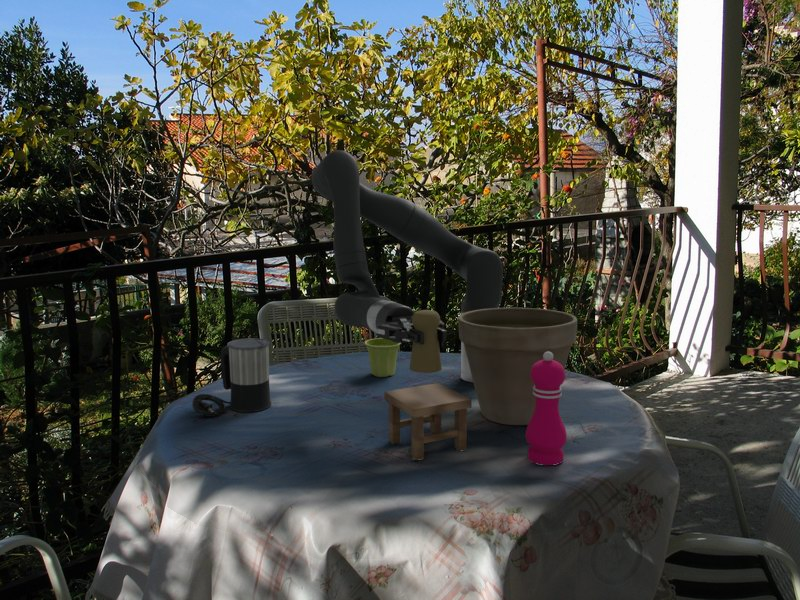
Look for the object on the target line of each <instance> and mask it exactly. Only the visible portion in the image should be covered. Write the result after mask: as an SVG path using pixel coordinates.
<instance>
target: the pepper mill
mask: <svg viewBox="0 0 800 600" xmlns="http://www.w3.org/2000/svg"><path fill="white" fill-rule="evenodd" d="M543 358H544V360H540V361H538V362H536V363H535V364H534V365H533V366H532V369H531V374H530V375H531V379H532V381H533V382H534V384H535V386H533V389H534V391H533V395H535V399H536V403H535V410H534V413H533V416H532V418H531V420H530V422H529V424H528V425H526V431H525V440H526V443H527V444H529V447H528V448H527V459H528V461H529V460H530V461H532V462H534V463H538V464H543V465H553V464H557V463H560V462H562V461H563V462H564V450H563V449H562V448H563V447H564V446H565V445H566V443H567V441H568V439H567V436H568V435H567V430H566V427H565V424H564V422H563V419H562V417H561V415H560V411H559V410H560V409H559V402H560V398H561V396H562V395H563V393H562V391H563V388H562V384H564V382H565V379H566V372H565V371H566V370H565V369H564V368H563V366H562V365H561V364H560V363H558V362H557V361H554V360H552V359H553V354H552V353H551V352H549V351H548V352H545V353H544V355H543ZM530 461H529V462H530ZM532 462H531V463H532ZM563 462H562V463H563ZM534 463H533V464H534Z"/></svg>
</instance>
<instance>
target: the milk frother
mask: <svg viewBox="0 0 800 600" xmlns="http://www.w3.org/2000/svg"><path fill="white" fill-rule="evenodd" d="M269 345H270V341H269V340H267V339H264V338H256V337H255V338H251V337H250V338H249V337H248V338H239V339H233V340H231V341H229V342H227V345H225V346H223V348H222V349H221V350H220V366H221V374H222V375H221V376H222V386H223V389H225V390H228V391H229V390H230V401H227V400H224V399H221V397H218V396H215V395H212V394H207V393H204V394H202V393H200V394H198V395H195V397H193V399H192V408H193V410H194V411H195V412H196V413H198V414H200V415H202V416H204V417H205V416H209V417H211V416H218V415H221V414H222V413H224V411H225V407H226V406H225V404H227V405H228V404H229V408H230V409H231V410H232V411H235V412H238V413H239V412H240V413H252V412H253V413H254V412H259V411H263V410H266V409H268V408H270V407H271V406H272V401H271V392H270V391H271V389H270V357H269V356H270V355H269ZM205 401H210V402H212V403H215V404H216V405H217V406H218V408H217V409H214V410H213V404H209V403H207V402H205Z"/></svg>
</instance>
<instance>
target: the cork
mask: <svg viewBox="0 0 800 600" xmlns="http://www.w3.org/2000/svg"><path fill="white" fill-rule="evenodd" d="M414 312H415V313H414V314H413V317H412V324H413V326H414V327H415V330H418V331H421V332H423V333H424V344H421V345H419V344H417V343H415V342H412V348H411V354H410V363H409V371H411V372H415V373H418V374H419V373H420V374H432V373H433V374H435V373H437V372H440V371H442V370H443V369H442V359H441V351H440V341H438V333H437V328H438V326H439V324H440V320H441V316H440V314H439V313H438V312H437V311H436V310H432V309H431V310H430V309H422V310H416V311H414Z"/></svg>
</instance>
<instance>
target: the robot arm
mask: <svg viewBox="0 0 800 600" xmlns="http://www.w3.org/2000/svg"><path fill="white" fill-rule="evenodd" d="M311 184H312V186H313V188H314V190H315V191H316V192H317V193H318V194H319V195H320V196H321V197H323V198H325V200H326V199H327V200H328V201H331V202H332V203H333V212H334V213H333V214H334V216H333V217H334V220H333V221H334V223H333V238H332V239H333V242H332V243H333V245H332V246H333V256H334V261H335V268H336V274H337V278H338V280H339V281H340V282H341V283H342V284H348V285H353V286H354V287H356V289H358V291H351V292H350V291H349V292H344V293H342V294H340V295H339V296H338V297H337V298H336V300H335V302H334V307H333V308H334V313H335V316H336V317H337V319H338V320H339V322H340V323H342V324H343V325H345V326H350V327H356V328H365V329H368V330H369V331H372V332H374V333H375V334H376V335H377V338H383V339H387V340H390V341H393V342H395V343H401V344H402V343H405V342H408V343H410V342H412V343H413V342H415V343H417V344H419V345H421V344H424V333H423V332H421V331H418V330H415V327H414V326H413V324H412V317H413V314H414V313H415V312H416V311H414V310H413V309H412V308H411V307H409V306H406V305H404V304H401V303H398V302H396V301H392V300H386V299H383V298H381V296H380V294H379V291H378V289H377V287H376V285H375V283H374V281H373V279H372V276H371V273H370V271H369V268H368V267H369V266H368V261H367V255H366V249H365V244H364V238H363V230H362V219H361V217H362V218H364V219H365V220H367V221H369V222H371V223H372V224H374V225H375V226H377V227H379V228H381V229H382V230H384V231H385V232H386V233H389V234H390V235H392V236H393V237H395V238H396V239H398V240H399V241H401V242H403V243H405V244H406V245H407V246H409V247H412V248H413V249H415V250H418V251H420V252H421V253H424V254H427V255H429V256H431V257H433V258H435V259H437V260H438V261H441V262H442V263H443V264H444V265H446V266H447V267H449V268H450V269H451V270H452V271H454V272H455V273H456V274H457V275H459V276H460V277H461V278H462V279H464V281H466V287H465V288H466V290H465V297H464V298H463V300H462V301H461V314H463V313H465V312H469V311H473V310H480V309H490V308H500V304H501V301H502V294H503V276H504V275H503V272H504V270H503V264H502V260H501V258H500V256H499V254H498V253H496V252H495V251H493V250H491V249H487V248H483V247H480V246H477V245H474V244H472V243H470V242H468V241H466V240H464V239H463V238H460V237H458V236H457V235H455V234H454V233H452V232H451V231H450V230H449V229H447V227H446V226H444V224H442V222H440V221H439V220H438V219H437V218H436V217H435V216H434V215H432V214H431V213H430V212H428V211H426V210H425V209H424V208H422V207H421V206H420V205H419V206H418V205H417V204H415V203H414V202H412V201H411V200H408V199H406V198H403V197H400V196H397V195H393V194H389V193H384V192H380V191H376V190H373V189H371V188H369V187H367V186H365V185H364V184H362V183H361V182H360V169H359V164H358V162H357V160H356V159H355V158H354V156H353V155H352V154H351V153H349V152H347V151H345V150H340V149H338V150H337V149H336V150H332V151H331V152H329V153H328V154H326V155H325V156H324V157H323V159H321V160H320V162H319V163H318V165H316V167H315V168H314V170H313V172H312V174H311ZM437 333H438V341H439V343H443V342H444V343H445V342H446V341H447V336H448V331H447V330H446V329H445V323H444V322H443V321H442V320H441V319H440V324H439V326H438V328H437ZM460 341H461V340H460ZM460 346H461V347H460V348H461V349H460V351H461V353H460V358H461V359H460V362H461V363H460V364H461V365H460V368H461V369H460V373H461V374H460V378H461V379H462V381H465V382H469V383H474V382H473V378H472V374H471V370H470V366H469V362H468V358H467V355H466V350H465V346H464V343H463V342H462V341H461V344H460Z"/></svg>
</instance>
